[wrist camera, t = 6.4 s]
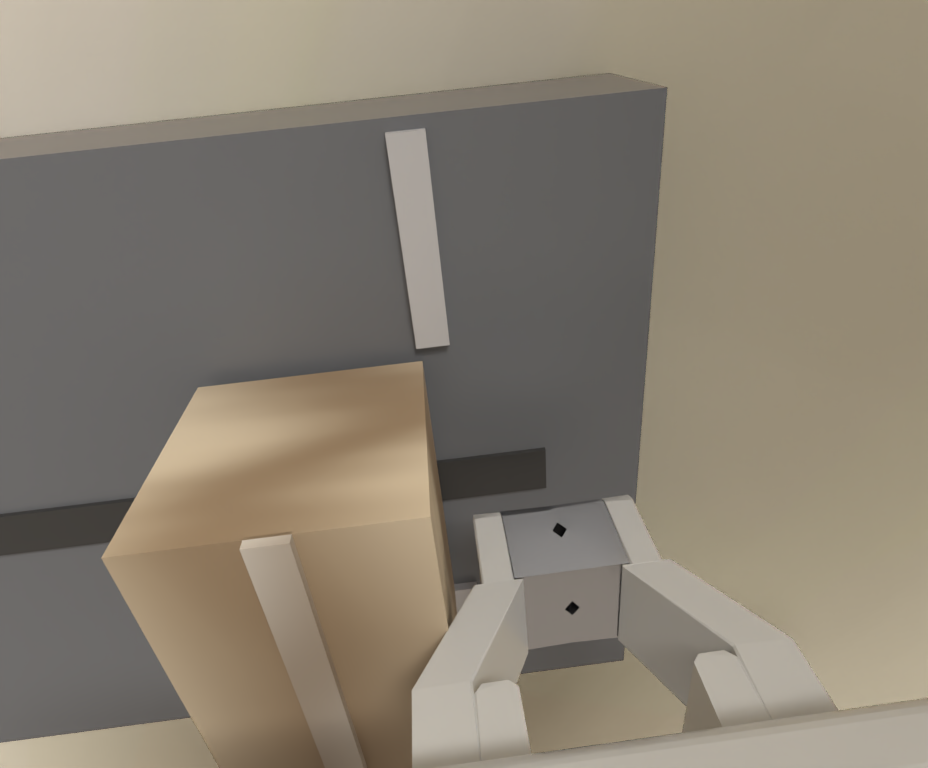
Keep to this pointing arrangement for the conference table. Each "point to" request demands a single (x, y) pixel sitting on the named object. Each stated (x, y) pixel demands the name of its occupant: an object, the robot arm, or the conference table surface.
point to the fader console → (310, 328)
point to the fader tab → (295, 565)
